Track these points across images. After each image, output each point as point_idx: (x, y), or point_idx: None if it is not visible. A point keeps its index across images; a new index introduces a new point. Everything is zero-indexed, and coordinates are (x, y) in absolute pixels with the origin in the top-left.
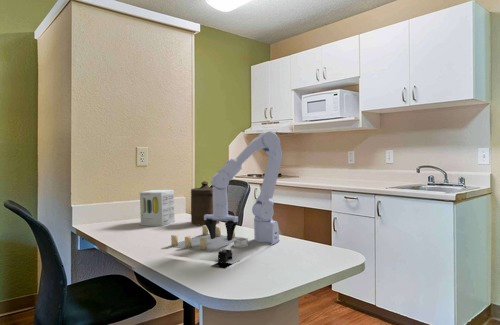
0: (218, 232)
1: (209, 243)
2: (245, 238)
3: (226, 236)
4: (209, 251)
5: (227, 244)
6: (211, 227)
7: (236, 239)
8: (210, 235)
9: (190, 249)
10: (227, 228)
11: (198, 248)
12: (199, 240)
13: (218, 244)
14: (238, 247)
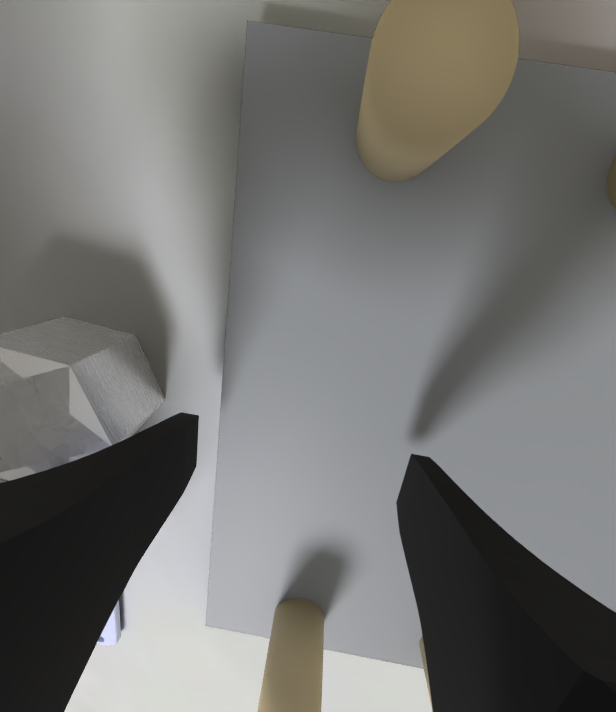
0: None
1: (431, 412)
2: (11, 472)
3: (363, 642)
4: (280, 55)
5: (226, 409)
6: (472, 594)
7: (70, 414)
8: (446, 477)
9: (592, 72)
10: (49, 494)
11: (488, 165)
12: (589, 501)
13: (316, 393)
14: (65, 328)
